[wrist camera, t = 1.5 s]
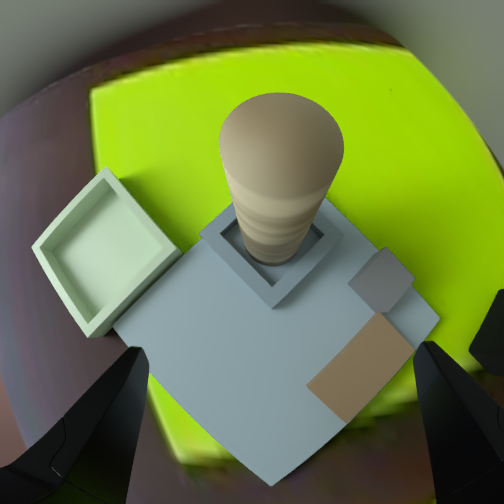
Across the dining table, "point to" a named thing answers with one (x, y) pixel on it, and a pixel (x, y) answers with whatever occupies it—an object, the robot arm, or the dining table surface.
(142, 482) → the dining table surface
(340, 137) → the dowel
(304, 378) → the board
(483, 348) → the battery
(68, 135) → the dining table surface
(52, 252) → the tray
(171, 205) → the dining table surface
